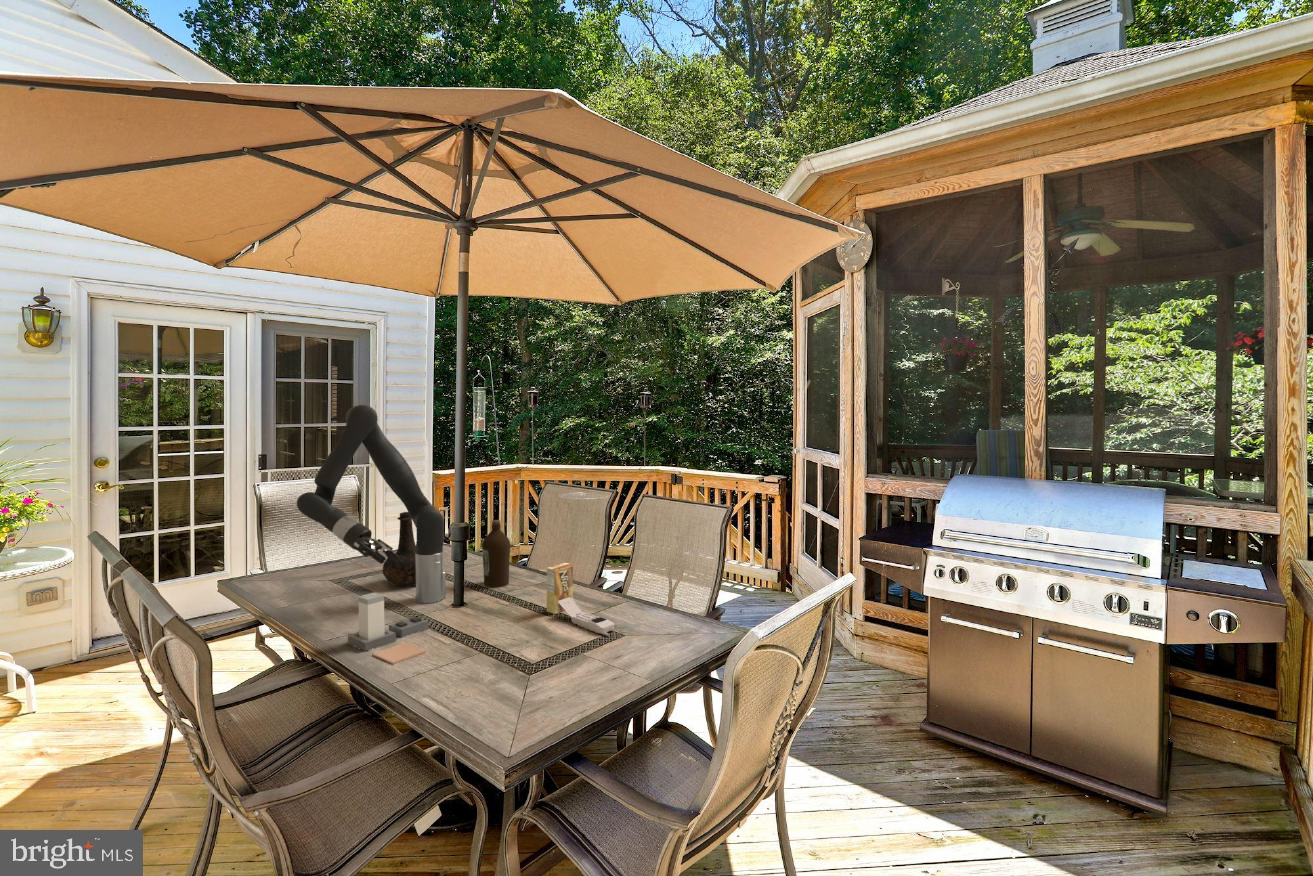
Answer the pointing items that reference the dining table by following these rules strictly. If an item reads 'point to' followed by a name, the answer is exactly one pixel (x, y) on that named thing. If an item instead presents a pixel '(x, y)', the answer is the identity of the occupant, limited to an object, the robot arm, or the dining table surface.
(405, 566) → the dark brown vase
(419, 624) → the charging dock
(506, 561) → the olive oil
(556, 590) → the candy box
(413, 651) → the coaster
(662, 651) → the dining table surface
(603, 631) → the mobile phone
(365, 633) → the block
